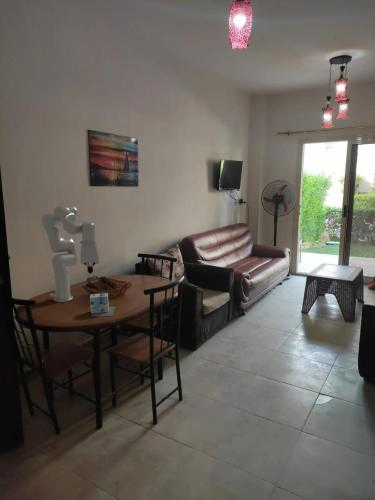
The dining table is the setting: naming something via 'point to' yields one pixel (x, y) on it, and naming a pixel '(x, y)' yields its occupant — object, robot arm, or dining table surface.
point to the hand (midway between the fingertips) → (90, 273)
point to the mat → (105, 314)
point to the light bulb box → (99, 303)
